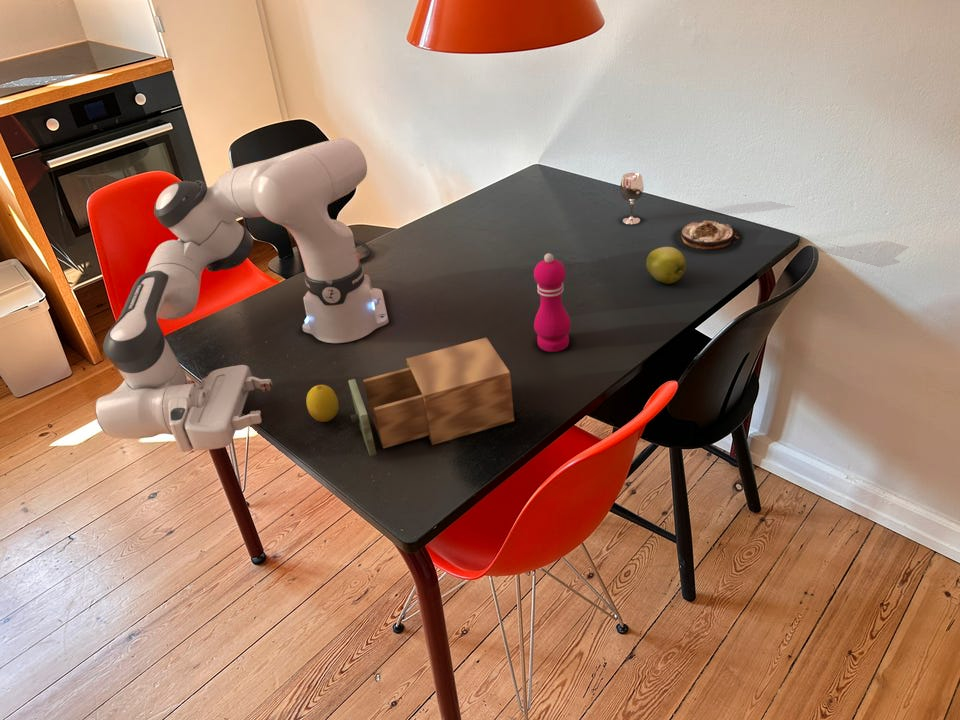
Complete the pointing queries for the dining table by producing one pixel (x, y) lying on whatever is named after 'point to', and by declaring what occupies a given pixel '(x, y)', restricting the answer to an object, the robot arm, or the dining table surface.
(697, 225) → the mottled flat disc
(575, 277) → the dining table surface
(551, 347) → the pepper mill
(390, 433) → the drawer
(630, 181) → the wineglass
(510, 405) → the cabinet
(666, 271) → the apple
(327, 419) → the lemon
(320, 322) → the robot arm
